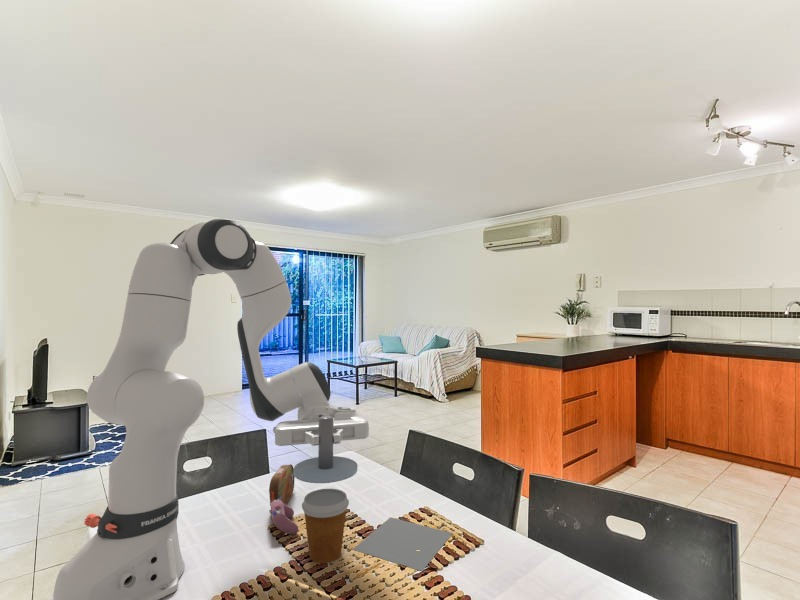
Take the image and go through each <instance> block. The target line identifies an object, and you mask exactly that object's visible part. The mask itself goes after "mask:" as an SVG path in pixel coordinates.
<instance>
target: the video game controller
mask: <svg viewBox="0 0 800 600" xmlns="http://www.w3.org/2000/svg"><path fill="white" fill-rule="evenodd" d="M269 506H270V508H269V509H268V510H269V514H271V518H272V522H273V523H274V525H275V527H276V529H277V530H279V531H280V532H284V533H286V534H288V535H296V534H298V533H299V526H298V525H297V524H296V522H294V521H292V520H291V518H292V517H294V515H295V511H294V509H293V508H292V507H290V506H289V505H287V504H284V503H283V502H282V501H281V500H279V499H278V500H274V501H273V502H272V503H270V502H269Z"/></svg>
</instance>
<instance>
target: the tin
mask: <svg viewBox="0 0 800 600" xmlns="http://www.w3.org/2000/svg"><path fill="white" fill-rule="evenodd" d="M293 469H294V466H293V464H283V465H281V466H280V467H279V468H278V469H277V470H276V471H275V473H274V474H273V475H272V477H271V479H270V482H269V489H268V494H269V504H270V503H272V502H273V501H274V500H278V499H279V500H281V501H282V502H283V503H284V504H286V505H287V504H288V502H289V500H290V499H291V498H292V496H293V493H294V489H295V477H294V475H293Z"/></svg>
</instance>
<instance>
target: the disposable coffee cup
mask: <svg viewBox="0 0 800 600" xmlns="http://www.w3.org/2000/svg"><path fill="white" fill-rule="evenodd" d="M347 497H348V495H347V494H346V492H344V491H343V490H340V489H338V488H321V489H317V490H312V491H310V492H308V493H307V494H306V495H305V496H304V498H303V501H302V504H301V509H302V511H303V512H304V519H305V520H304V521H305V529H306V537H307V538H306V539H307V544H308V554H309V555H308V556H309V559H310V560H311V561H312V562H314V563H319V564H327V563H331V562H335V561H336V560H338V559H339V558H340V557H341V554H342V548H343V538H344V532H345V523H346V516H347V515H346V514H347V509H348V506H349V504H350V502H349V499H348V498H347Z"/></svg>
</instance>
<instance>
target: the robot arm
mask: <svg viewBox="0 0 800 600" xmlns="http://www.w3.org/2000/svg"><path fill="white" fill-rule="evenodd" d="M280 266H281V265H279V263H278V261H277V259H276V258H275V256H274V253H273V252H272V251H271V249H270V248H269V247H268V246H267V245H266V244H265V243H263V242H259V241H256V240H254V239H253V238H252V237H251V234H250V233H249V232H248V231H247V229H246V228H245V227H244V226H243V225H242V224H240V222H237V221H236V220H233V219H228V218H214V219H211V220H209V221H206V222H200V223H196V224H194V225H192V226H190V227H188V228H187V229H184V230H182V231H181V232H179V233H177V235H176V236H175V237H174V238H173V240H172V241H170V243H167V242H155V243H151V244H149V245H146V246H144V248H142V249H141V251H140V253H139V255H138V257H137V259H136V262H135V265H134V268H133V270H132V275H131V277H130V282H129V285H128V290H127V297H126V302H125V309H124V313H123V318H122V323H121V324H122V325H121V329H120V332H119V333H120V334H119V336H118V340H117V342H116V345H115V347H114V350H113V352H112V354H111V356H110V358H109V360H108V362H107V363H106V365H105V368H104V370H102V372H101V373H100V374H99V375H98V376H97V377H96V378H94V379H93V381H92V382H91V383H90V385H89V386H88V389H87V393H86V403H87V407H88V408H89V410H90V411H91V412H92V413H93V414H94V415H96V416H97V417H98V418H100V419H101V420H103V421H105V422H107V423H109V424H112V425H118V426H123V427H125V430H126V433H125V438H124V441H123V445H122V448H121V451H120V452H119V454H118V455H116V456H115V457H114V458H113V460H112V461H111V462H110V464H109V469H108V501H107V502H108V505H107V507H106V509H105V510H104V513H103V515H102V516H100V515H97V514H96V513H89V514H88V515H87V516H86V517H85V518H84V521H83V524H84V525H85V526H86V527H90V528H92V529H95V528H97V530H96V533H95V534H94V535H93V536H92V537H91V538H90V539H89V540H88V541H87V542H86V543H85V544H84V545H83V546H82V547H81V548H80V549H79V550H78V551H77V552H76V553H75V554H74V555H73V556H72V557H71V558H70V559H69V560H68V561H67V562H66V563H65V564H64V565H63V566H62V567H61V569H59V572H58V574H57V576H56V579H55V583H54V589H53V594H51V595H50V596H48V597H47V598H45V599H44V600H160V599H162V598H164V597H166V596H168V595H171V594H172V593H174V592H176V591H177V590H178V588H179V579H180V578H181V576H182V575H183V573H184V571H185V566H186V565H185V562H184V559H183V556H182V552H181V548H180V541H179V534H178V524H177V519H178V516H179V509H180V508H179V494H178V493H177V476H178V475H177V472H178V456H179V452H180V449H181V448H180V447H181V445H182V441H183V439H184V436H185V434H186V432H187V431H188V429H189V428H190V427H191V426H192V425H194V424H195V423H196V422H197V420H198V419H199V417H200V416H201V414H202V412H203V409H204V406H205V394H204V390H203V388H202V386H201V385H200V384H199V382H197V381H196V380H195V379H193V378H190V377H188V376H186V375H184V374H181V373H178V372H175V371H167V370H166V368H167V365H168V362H169V360H170V358H171V356H172V355H173V354H174V351H175V350H177V348H179V347H180V346H182V344H183V343H184V342H185V340H186V337H187V332H188V326H189V325H188V324H189V318H190V311H191V310H190V309H191V302H192V296H193V286H194V284H195V281H196V280H197V279H198V277H200V276H205V275H216V274H217V275H218V274H221V273H224V274H226V275H227V276H229V277H230V278H231V280H232V281H233V283H234V284H235V287H236V289H237V292H238V294H239V297H240V300H241V302H242V316H241V318H240V319H239V320H238V321H237V324H236V327H237V329H236V331H237V337H238V342H239V348H240V351H241V355H242V361H243V366H244V370H245V374H246V377H247V382H248V386H249V400H250V405H251V408H252V411H253V413H254V414H255V416H256V417H257V418H258V419H261V420H263V421H268V422H274V421H276V420H277V419H279V418H280V417H283V416H285V414H287V413H289V412H291V411H294V410H296V409H297V420H295V419H294V420H283V421H280V422H278V423H277V424H276V426H274V427H273V428H272V432H273V433H274V443H275V446H278V447H285V446H296V445H297V446H298V445H306V444H307V445H308V444H310V445H311V446H312V447H313V446H314V447H315V446H319V417H323V416H331V417H333V445H337V444H341V442H343V441H353V440H364V439H367V438H369V436H370V435H369V432H370V431H369V430H370V427H369V426H370V425H369V421H368V420H367V419H366V417H364V416H363V414H360V413H358V412H357V410H356V408H354V407H345V406H344V407H343V406H342V407H341V406H339V407H338V406H334V405H331V404H330V402H329V401H330V398H331V393H332V392H331V388H330V386H329V382H328V381H327V379H326V376H325V375H324V373H323V372H322V370H321V369H320V367H319V366H318V365H316V364H315V363H312V362H309V361H306V362H303V363H300V364H297V365H295V366H292V367H291V368H289V369H287V370H285V371H282V372H280V373H278V374H275V375H273V376H270V377H266V376H265V373H264V368H263V365H262V359H261V358H262V357H261V354H260V345H261V344H262V343H261V342H262V341H263V340H264V338H265V337H266V336H267V335H268V334H269V333H270V332H271V331H272V330H273V329H275V328H276V327H277V326H278V325H279V324H280V323H281V322H282V321H283V320H284V319H285V318H286V316H287V315H288V313H289V312H290V310H291V308H292V307H291V306H292V295H291V292H290V291H291V290H290V288H289V285H288V282H287V279H286V277H285V275H284V272H283V271H282V269H281V267H280Z"/></svg>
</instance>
